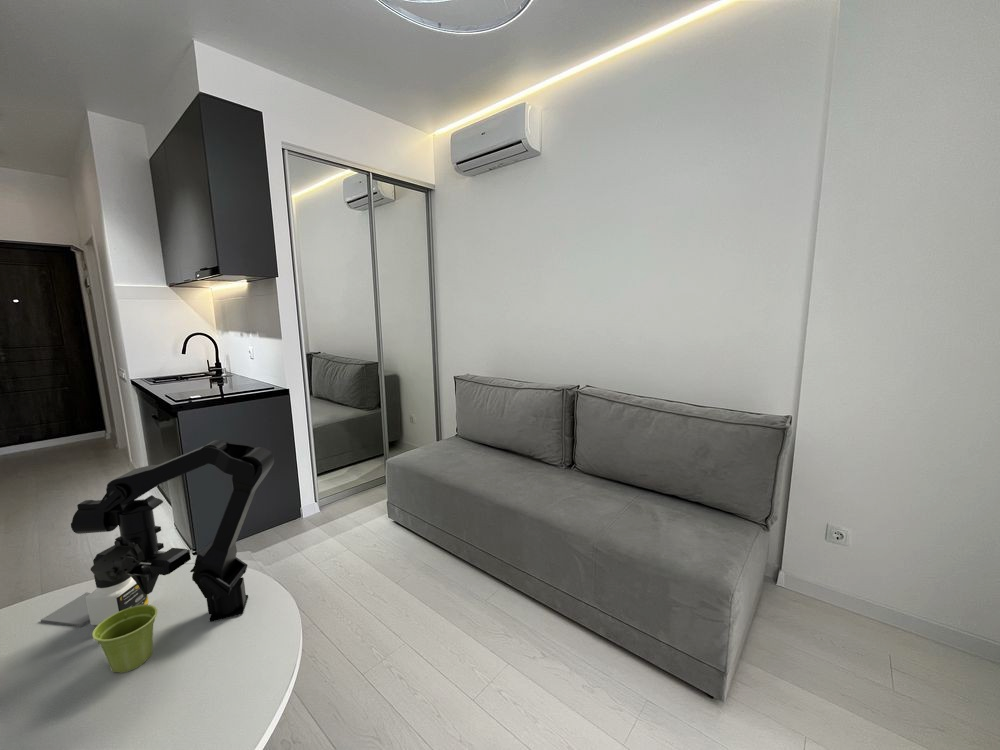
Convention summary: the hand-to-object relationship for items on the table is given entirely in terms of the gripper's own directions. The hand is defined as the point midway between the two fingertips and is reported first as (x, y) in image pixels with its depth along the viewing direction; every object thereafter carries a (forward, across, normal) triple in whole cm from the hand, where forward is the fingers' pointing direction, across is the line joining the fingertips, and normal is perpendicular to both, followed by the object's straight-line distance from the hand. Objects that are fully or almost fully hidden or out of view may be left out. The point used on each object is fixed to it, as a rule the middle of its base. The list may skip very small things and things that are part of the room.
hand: (148, 593), depth 92 cm
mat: (+6, -18, 0) cm, 19 cm away
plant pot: (+6, +7, -10) cm, 14 cm away
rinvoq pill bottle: (+6, -8, 0) cm, 11 cm away
